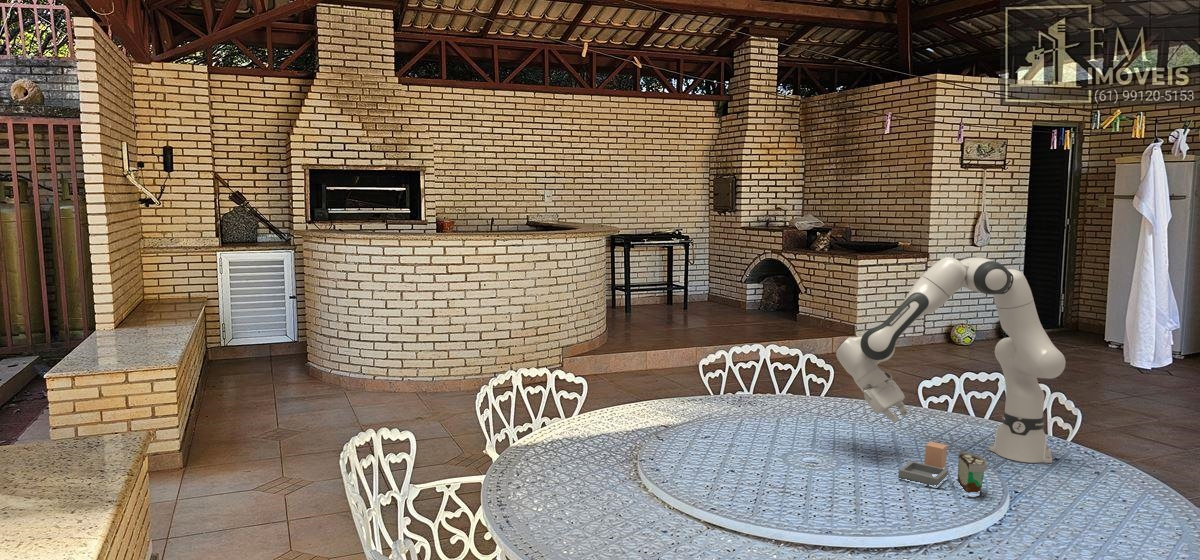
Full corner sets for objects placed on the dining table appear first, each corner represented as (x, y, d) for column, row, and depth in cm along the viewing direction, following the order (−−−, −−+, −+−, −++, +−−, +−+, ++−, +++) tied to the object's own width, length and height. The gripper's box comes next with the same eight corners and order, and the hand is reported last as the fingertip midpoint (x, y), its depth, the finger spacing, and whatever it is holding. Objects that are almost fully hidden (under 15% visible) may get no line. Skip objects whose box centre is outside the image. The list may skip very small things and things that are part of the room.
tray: (910, 470, 238) (910, 461, 238) (947, 479, 231) (948, 469, 231) (898, 479, 230) (898, 469, 230) (936, 489, 223) (937, 479, 223)
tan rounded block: (928, 466, 243) (930, 441, 242) (945, 470, 240) (947, 445, 239) (923, 470, 239) (925, 445, 238) (940, 474, 236) (942, 448, 235)
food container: (990, 501, 215) (993, 467, 214) (967, 499, 216) (969, 464, 215) (978, 485, 227) (981, 453, 226) (955, 483, 228) (958, 451, 227)
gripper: (868, 382, 241) (898, 419, 235) (891, 372, 256) (919, 406, 251) (853, 393, 244) (882, 430, 239) (876, 383, 260) (904, 417, 254)
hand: (901, 418), depth 245 cm, fingers open, 8 cm apart
